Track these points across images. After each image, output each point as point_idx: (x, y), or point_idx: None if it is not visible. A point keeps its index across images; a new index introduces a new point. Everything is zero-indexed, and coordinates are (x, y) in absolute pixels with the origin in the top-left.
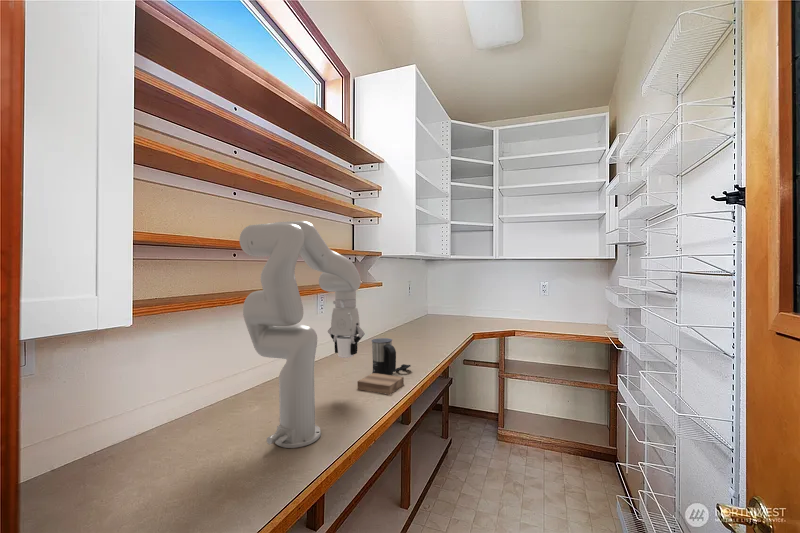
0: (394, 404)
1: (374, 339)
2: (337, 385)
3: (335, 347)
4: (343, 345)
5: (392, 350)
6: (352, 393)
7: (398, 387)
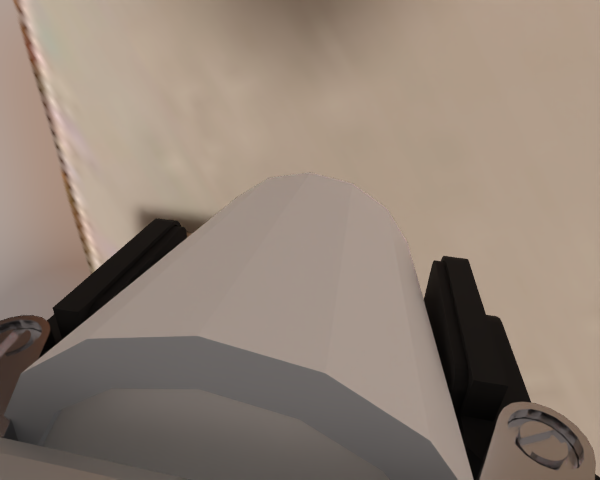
0: (54, 112)
1: None
2: (489, 279)
3: (467, 305)
4: (207, 246)
5: None
6: None
7: None
